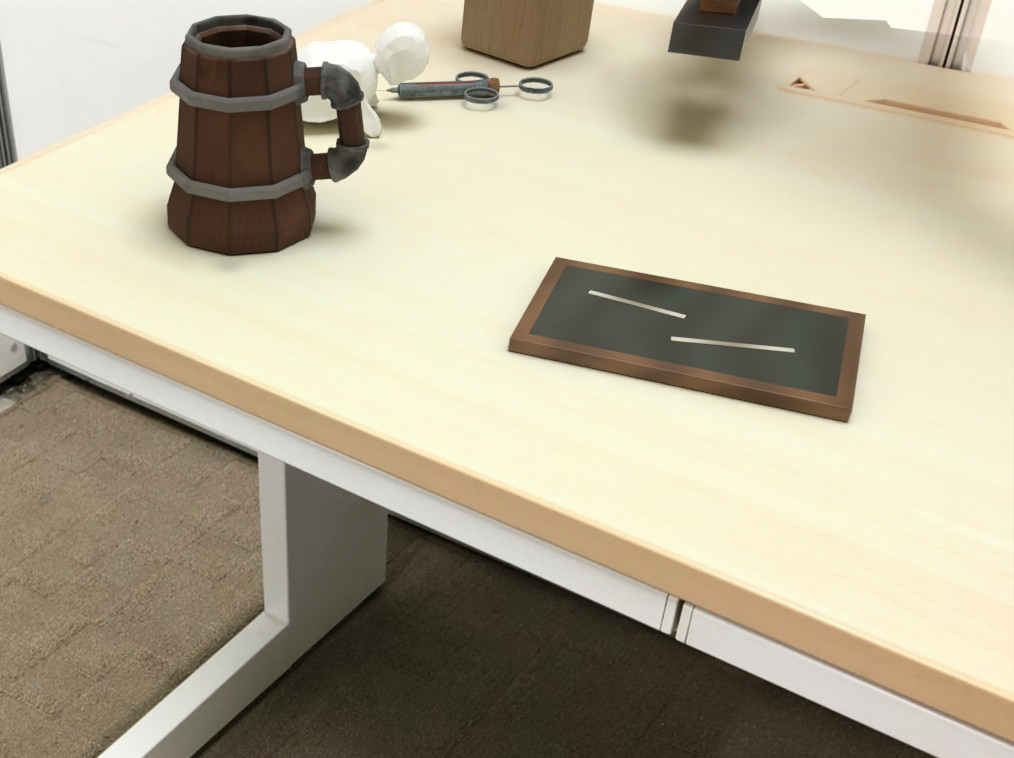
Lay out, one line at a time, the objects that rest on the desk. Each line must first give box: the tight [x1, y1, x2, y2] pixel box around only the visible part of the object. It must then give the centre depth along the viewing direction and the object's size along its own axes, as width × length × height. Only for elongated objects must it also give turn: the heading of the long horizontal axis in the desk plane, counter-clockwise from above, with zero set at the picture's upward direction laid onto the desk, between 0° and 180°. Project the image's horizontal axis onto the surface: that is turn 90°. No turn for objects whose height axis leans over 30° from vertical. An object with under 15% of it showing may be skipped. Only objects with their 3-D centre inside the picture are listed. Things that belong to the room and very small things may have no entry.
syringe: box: [377, 70, 554, 105], centre depth 121 cm, size 8×18×2 cm, turn 95°
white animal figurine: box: [297, 21, 431, 138], centre depth 114 cm, size 9×8×15 cm
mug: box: [165, 13, 371, 255], centre depth 95 cm, size 16×12×15 cm
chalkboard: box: [507, 256, 867, 423], centre depth 86 cm, size 22×13×1 cm, turn 66°
